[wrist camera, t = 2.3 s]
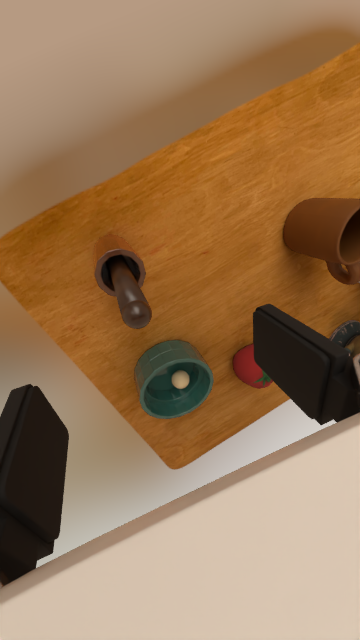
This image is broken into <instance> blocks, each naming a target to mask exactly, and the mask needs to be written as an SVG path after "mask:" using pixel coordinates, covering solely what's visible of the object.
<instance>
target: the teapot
mask: <svg viewBox="0 0 360 640" xmlns="http://www.w3.org/2000/svg"><path fill="white" fill-rule="evenodd" d="M329 339H330V340H331V341H333V342H335V343H336V344H338V345H340V346H341V347H343V348H345V349H346V350H348V351H350V353H349V356H350V357H352V358H354V357H355V356H356V355H357V354H359V353H360V323H359V322H358V321H355V320H350V321H347V322H345V323H343V324H342V325H340V326H339V327H338V328H337V329H336V330H335V331H334V332H333V333H332V335H331V337H330V338H329Z"/></svg>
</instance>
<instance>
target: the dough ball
mask: <svg viewBox="0 0 360 640" xmlns="http://www.w3.org/2000/svg"><path fill="white" fill-rule="evenodd" d="M172 384H173V385H174V386H175V387H176V388H179V389H182V388H185V387H186V386H187V385H188V384H189V375H188V374H187V373H186V372H185V371H183V370H178V371H176V372H175V373H174V374H173V375H172Z"/></svg>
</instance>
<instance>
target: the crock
mask: <svg viewBox="0 0 360 640" xmlns="http://www.w3.org/2000/svg"><path fill="white" fill-rule="evenodd" d="M120 254H121V255H122V256H123V258H124V260H125V261H126V263H127V265H128V267H129V269H130V271H131V272H132V274H133V276H134V278H135V280H136V282H137V284H138V285H139V287H140V288H141V287H142V285H143V282H144V279H145V275H146V272H145V268H144V264H143V261H142V260H141V259H140V257H139V256H138V255H137V254H136V252H135V251H134V250H133V249H132V247H131V246H130V245H129V244H128V243H127V242H126V241H125V240H124V239H123V238H122V237H120V236H117V235H113V234H109V235H105V236H103V237H101V238H100V239H99V240H98V241H97V242H96V243H95V246H94V252H93V259H94V274H95V277H96V280H97V283H98V285H99V287H100V288H101V289H102V290H104V291H105V292H106V293H107V294H108V295H111V296H116V293H115V289H114V285H113V282H112V278H111V274H110V270H109V267H108V263H107V260H108V259H109V258H110V257H112V256H116V255H120ZM116 297H117V296H116Z"/></svg>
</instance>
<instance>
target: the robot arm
mask: <svg viewBox="0 0 360 640" xmlns="http://www.w3.org/2000/svg"><path fill="white" fill-rule="evenodd" d="M253 345H254V360H255V362H256V364H257V365H258V366H259V367H260V368H261V369H262V370H263V371H264V372H265V373H266V374H267V375H268V376H269V377H270V378H271V379H272V380H273V381H274V382H275V383H276V384H277V385H278V386H279V387H280V388H281V389H282V390H283V391H284V392H285V393H286V394H287V395H288V396H289V397H290V398H291V399H292V400H293V402H295V404H296V405H297V406H298V407H300V408H301V410H302V411H303V412H304V413H305V414H306V415H307V416H308V417H310V418H311V419H315V420H316V421H317V422H318V423H319V424H320V425H323V424H325V423H327V422H329V421H331V420H333V419H334V420H335V421H336V422H337V423H335V424H333V425H331V426H329V427H326V428H324V429H322V430H320V431H318V432H316V433H314V434H312V435H310V436H307V437H305V438H303V439H301V440H299V441H297V442H295V443H292V444H290V445H288V446H286V447H284V448H282V449H280V450H278V451H276V452H273V453H271V454H269V455H267V456H265V457H263V458H261V459H259V460H257V461H254V462H252V463H250V464H248V465H246V466H244V467H242V468H240V469H238V470H236V471H234V472H232V473H229V474H227V475H225V476H223V477H221V478H219V479H217V480H215V481H213V482H211V483H209V484H207V485H204V486H202V487H201V488H198V489H196V490H194V491H192V492H190V493H188V494H186V495H184V496H182V497H180V498H177V499H175V500H173V501H171V502H169V503H167V504H165V505H163V506H161V507H159V508H157V509H155V510H153V511H151V512H149V513H147V514H145V515H143V516H141V517H139V518H136V519H135V520H132V521H130V522H128V523H126V524H124V525H122V526H120V527H118V528H116V529H114V530H112V531H110V532H108V533H106V534H103V535H102V536H99V537H97V538H95V539H93V540H91V541H89V542H87V543H85V544H83V545H81V546H79V547H77V548H75V549H73V550H71V551H69V552H67V553H66V554H64V555H62V556H60V557H58V558H56V559H54V560H52V561H50V562H48V563H46V564H44V565H42V566H40V567H38V568H36V563H37V560H39V559H41V558H43V557H45V556H48V555H50V554H52V553H53V547H54V540H55V539H57V538H58V536H59V533H60V525H61V514H62V504H63V493H64V482H65V472H66V461H67V450H68V440H69V434H68V430H67V428H66V427H65V425H64V424H63V422H62V421H61V420H60V418H59V416H58V415H57V413H56V412H55V411H54V409H53V408H52V406H51V405H50V403H49V402H48V400H47V399H46V397H45V396H44V394H43V393H42V391H41V390H40V388H39V387H38V386H34V387H33V386H32V385H31V384H28V385H25V386H22V387H20V388H16V389H14V390H12V391H11V392H10V395H9V397H8V400H7V402H6V404H5V407H4V409H3V412H2V414H1V417H0V640H360V353H359V354H357V355H356V356H355V357H354V358H352V357H350V356H349V353H350V351H348V350H346V349H345V348H343V347H341V346H340V345H338V344H336V343H335V342H333V341H331V340H330V339H328V338H326V337H325V336H323V335H321V334H320V333H318V332H316V331H315V330H313V329H311V328H310V327H308V326H306V325H305V324H303V323H301V322H300V321H298V320H296V319H295V318H293V317H291V316H290V315H288V314H286V313H285V312H283V311H281V310H280V309H278V308H276V307H275V306H273V305H271V304H266V305H263V306H260V307H257V308H256V311H255V312H254V313H253Z"/></svg>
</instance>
